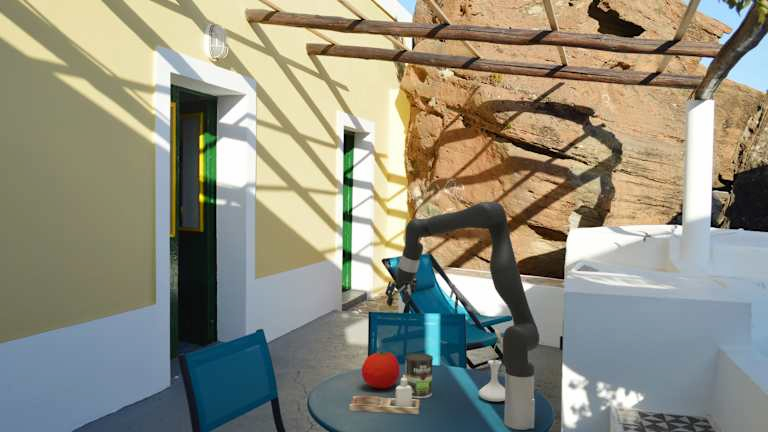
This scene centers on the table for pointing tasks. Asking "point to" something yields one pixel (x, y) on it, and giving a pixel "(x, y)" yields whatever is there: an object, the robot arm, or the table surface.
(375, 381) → the tomato
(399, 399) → the eye dropper bottle
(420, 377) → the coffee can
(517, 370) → the robot arm
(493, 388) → the flower in vase
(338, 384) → the table surface
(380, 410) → the rail
